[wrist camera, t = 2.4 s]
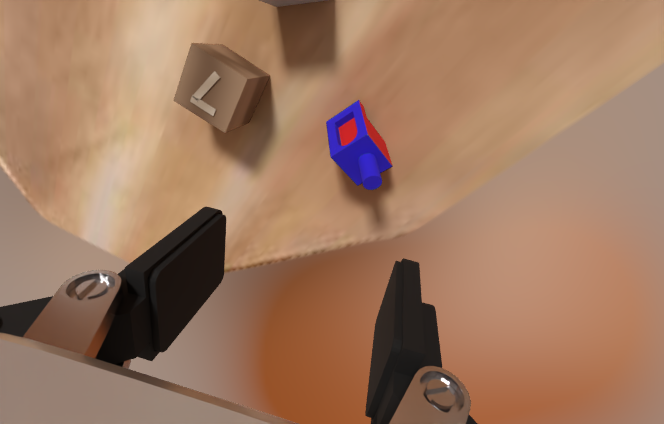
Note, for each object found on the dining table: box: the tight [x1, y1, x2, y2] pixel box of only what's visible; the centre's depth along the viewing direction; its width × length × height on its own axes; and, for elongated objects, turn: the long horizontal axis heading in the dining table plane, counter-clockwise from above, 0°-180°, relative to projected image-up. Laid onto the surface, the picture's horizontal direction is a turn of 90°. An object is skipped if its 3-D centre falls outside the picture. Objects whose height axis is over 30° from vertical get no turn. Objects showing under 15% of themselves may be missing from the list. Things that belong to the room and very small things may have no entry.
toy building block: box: [326, 100, 392, 190], centre depth 29 cm, size 4×4×8 cm
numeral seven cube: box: [174, 43, 270, 133], centre depth 29 cm, size 5×5×5 cm
